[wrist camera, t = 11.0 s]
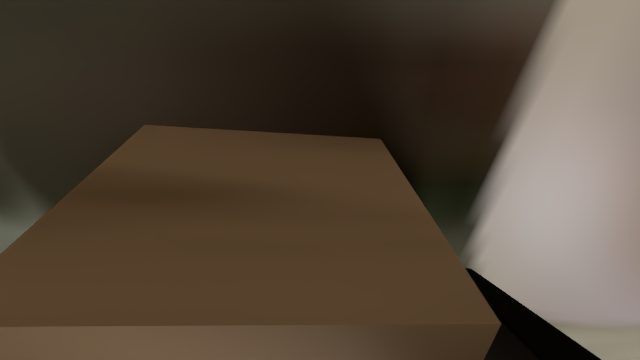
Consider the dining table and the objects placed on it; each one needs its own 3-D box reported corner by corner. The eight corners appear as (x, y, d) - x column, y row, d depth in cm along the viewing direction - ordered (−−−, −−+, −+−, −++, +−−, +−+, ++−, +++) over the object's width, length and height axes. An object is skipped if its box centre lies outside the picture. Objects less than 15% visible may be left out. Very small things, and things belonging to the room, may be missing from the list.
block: (349, 297, 10) (397, 533, 6) (171, 297, 9) (70, 558, 5) (379, 137, 8) (501, 323, 3) (146, 123, 7) (-82, 326, 3)
